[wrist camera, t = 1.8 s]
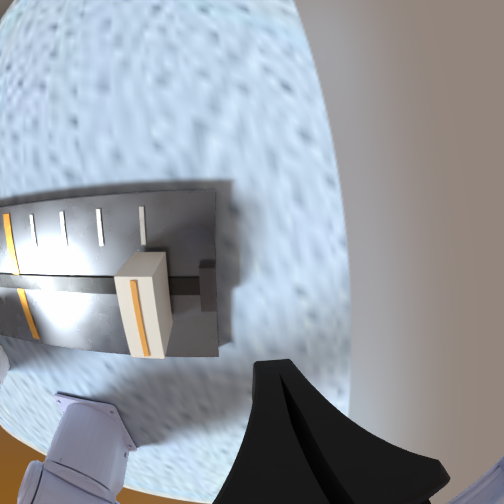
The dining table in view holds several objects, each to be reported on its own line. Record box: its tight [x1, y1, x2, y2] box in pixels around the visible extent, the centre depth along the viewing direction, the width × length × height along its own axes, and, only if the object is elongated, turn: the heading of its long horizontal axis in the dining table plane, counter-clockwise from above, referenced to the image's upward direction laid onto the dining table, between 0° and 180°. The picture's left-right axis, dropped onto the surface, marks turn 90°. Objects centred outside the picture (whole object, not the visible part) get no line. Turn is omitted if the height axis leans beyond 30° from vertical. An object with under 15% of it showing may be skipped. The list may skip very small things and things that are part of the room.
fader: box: [114, 252, 173, 359], centre depth 15 cm, size 5×2×4 cm, turn 178°
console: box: [0, 190, 219, 357], centre depth 16 cm, size 12×24×2 cm, turn 88°
